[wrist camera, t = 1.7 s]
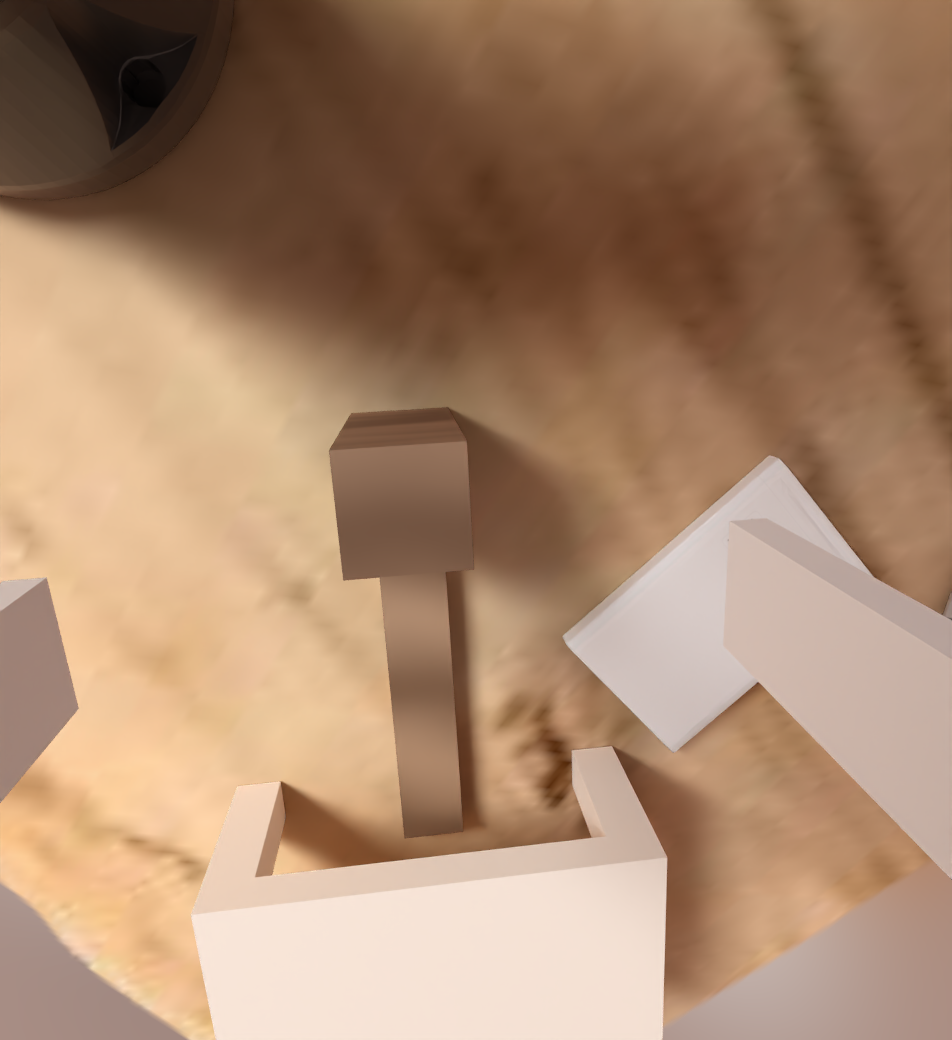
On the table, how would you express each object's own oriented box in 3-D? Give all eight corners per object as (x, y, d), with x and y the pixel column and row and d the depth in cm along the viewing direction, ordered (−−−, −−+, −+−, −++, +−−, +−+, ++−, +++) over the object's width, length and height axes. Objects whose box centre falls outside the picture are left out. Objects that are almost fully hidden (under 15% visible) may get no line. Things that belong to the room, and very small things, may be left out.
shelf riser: (237, 785, 33) (190, 914, 26) (611, 746, 34) (667, 857, 27) (270, 985, 36) (237, 1149, 29) (611, 940, 38) (661, 1086, 30)
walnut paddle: (351, 413, 29) (329, 450, 20) (447, 407, 29) (466, 440, 20) (392, 822, 34) (388, 990, 26) (473, 813, 35) (497, 975, 26)
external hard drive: (559, 631, 33) (763, 451, 32) (663, 737, 35) (860, 573, 34) (566, 646, 31) (782, 458, 30) (675, 756, 34) (882, 585, 32)
